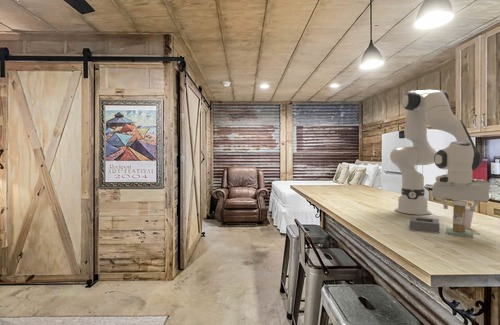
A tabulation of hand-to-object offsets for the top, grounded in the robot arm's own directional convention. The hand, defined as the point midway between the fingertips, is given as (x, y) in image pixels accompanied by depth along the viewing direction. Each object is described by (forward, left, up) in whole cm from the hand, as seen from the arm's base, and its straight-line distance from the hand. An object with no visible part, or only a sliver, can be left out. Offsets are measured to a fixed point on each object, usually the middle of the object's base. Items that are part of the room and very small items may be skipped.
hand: (458, 209), depth 126 cm
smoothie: (-13, +4, -11) cm, 17 cm away
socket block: (-2, -13, -10) cm, 16 cm away
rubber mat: (0, 0, -10) cm, 10 cm away
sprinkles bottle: (0, 0, -10) cm, 10 cm away
